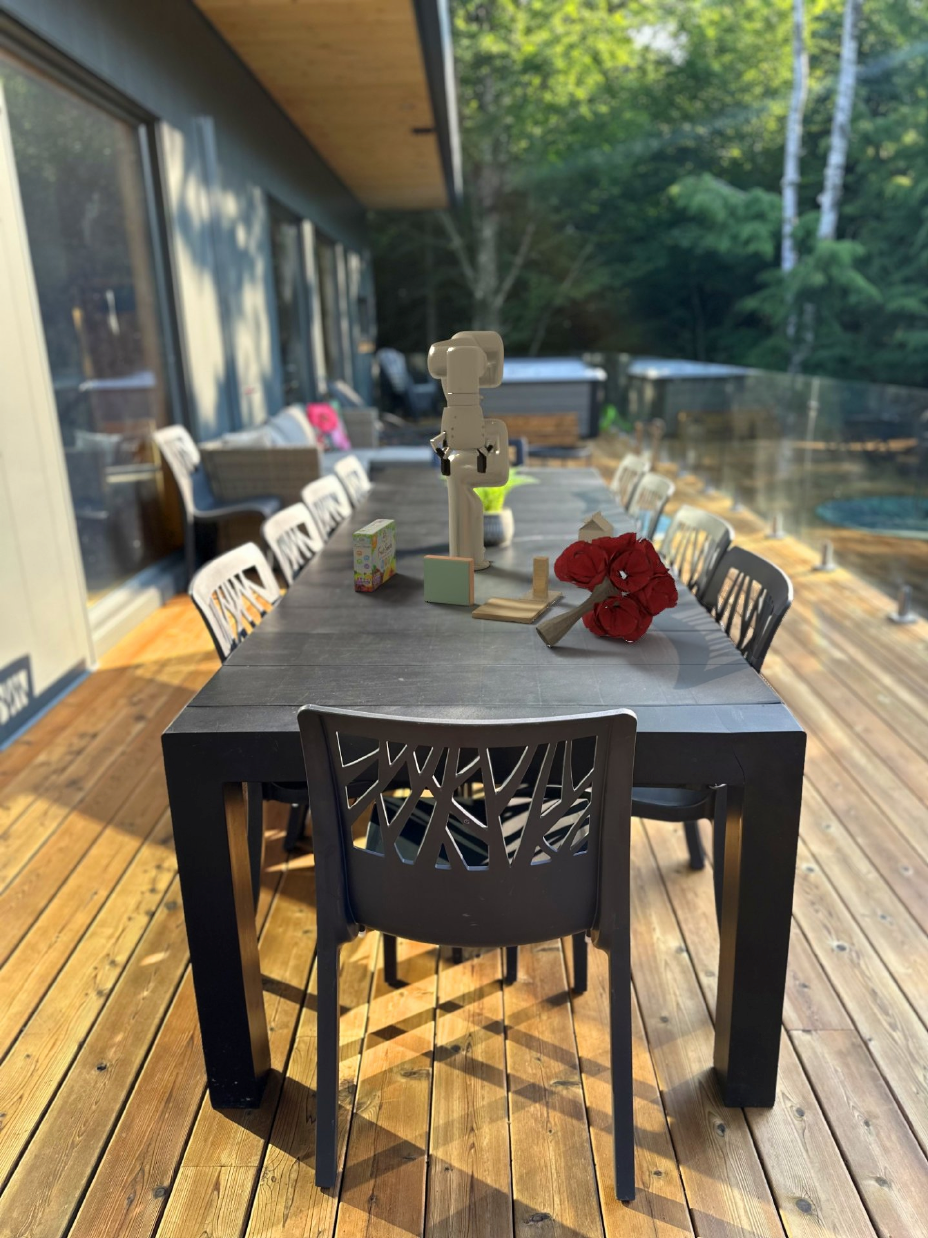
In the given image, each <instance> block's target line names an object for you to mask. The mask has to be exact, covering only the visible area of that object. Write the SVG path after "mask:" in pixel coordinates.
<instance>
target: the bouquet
mask: <svg viewBox="0 0 928 1238" xmlns="http://www.w3.org/2000/svg"><path fill="white" fill-rule="evenodd" d="M637 533H638V532H636V531H635V532H634V531H632V532H630V531H629V532H628V531H627V532H625V533H622V534H620V535H619V536H615V537H614V536H613V538H611V537H610V536H605V537H602V538H601V537H599V538H597V539H592V543H588V541H587V542H585V541H584V540H579V541H578V540H577V541H575V542H572V543H571V544H569V546H568V547H566V548H565V549H564V550H563V551H562V552H561V554H560V555H559V556H558V557H557V558H556V560H555V562H554V564H553V573H554V576H555V577H556V578H557V579H558V580H559V581H560V582H563V583H564V582H565V583H570V584H572V585H574V586H576V587H577V586H578V587H577V588H582V589H585V590H588V591H589V592H590V593H591V594H590V595H589V597H587V598H586V600H585V601H583V602H582V603H581V604H579V605H578V606H576V607H574V608H573V609H571V610H569V611H566V612H564V613H561V614H558V615H556V616H553V617H551V618H549V619H546V620H544V621H542V622H541V623H540V624H538V625H537V626H536V627H535V631H536V632H537V634H538V636H539V638H540V639H541V640H542V642H543V643H544V645H546V646H547V645H550V647H549V648H551V647H554V646H555V645H557V643H559V641H561V640H562V639H563V638H564V637H565V636H566V634H567V633H568V632H569V631H570V630H571V629H572V628H573V626H574V625H576V623H577V622H578V621H579V620H581V619H582V624H583V625H584V627H585V628H586V629H588V630H589V632H590V633H591V634H593V635H595V636H599V637H603V636H602V635H608V636H609V637H610V638H616V639H618V638H622V639H623V641H625V640H627V641H633V642H632V643H635V642H636V641H638V640H639V639H641V638H642V637H643V636H644V635H645V634H647V631H648V630H649V628H650V626H651V624H652V623H653V620H654V619H653V618H654V617H657V616H658V615H660V614H661V613H662V612H663V611H665V610H666V609H671V608H672V609H673V608H675V607H676V606H677V605H678V603H677V601H678V600H679V592H678V590H677V589H678V588H677V587H676V580H675V578H674V577H673V576H672V574H671V573H670V570H671V568H670V567H669V568H668V567H666V565H665V563H664V562H663V561H662V559H661V557H660V554H659V553H658V552H657V550H656V549H655V547H654V544H653V543H652V542H651V541H650V540H649V539H647V538H646V537H643V536H641V537H639V538H637V537H638V535H637ZM642 537H643V538H642ZM621 572H623V573H624V575H625V577H623V576H622V573H621ZM623 593H625V594H623ZM627 641H626V642H627Z"/></svg>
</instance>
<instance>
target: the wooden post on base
mask: <svg viewBox="0 0 928 1238" xmlns="http://www.w3.org/2000/svg"><path fill="white" fill-rule="evenodd" d="M532 561H533V562H532V588H530V589H529V590H528V591H527V592H525V593H524V594H523V595H522V596H520V597H519V598H518V599H520V600H530V601H541V602H549V605H551V604H552V603H553V602H554V601H556V600H557V599H558V598H559V597H560V596H561V597H563V591H558V590H557V591H556V590H549V581H550V580H549V579H550V578H549V577H550V576H549V573H550V572H549V571H550V557H549V556H540V555H537V556H535V557H534V558H533V559H532ZM561 597H560V598H561ZM560 598H559V599H560ZM559 599H558V600H559ZM558 600H557V601H558ZM557 601H556V602H557ZM553 604H554V603H553ZM553 604H552V605H553ZM552 605H551V606H552Z"/></svg>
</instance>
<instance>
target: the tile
mask: <svg viewBox="0 0 928 1238" xmlns="http://www.w3.org/2000/svg"><path fill="white" fill-rule="evenodd" d="M422 563H423V591H424V592H423V596H424V602H427V601H428V603H438V604H448V605H449V604H450V605H458V606H465V607H466V606H469V607H471V606H472V605H473V604H475V570H474V559H472V558H459V557H450V556H446V555H445V556H444V555H432V554H427V555H424V556H423V560H422Z"/></svg>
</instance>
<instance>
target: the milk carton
mask: <svg viewBox="0 0 928 1238" xmlns="http://www.w3.org/2000/svg"><path fill="white" fill-rule="evenodd" d="M582 522H583V523H584V525H582V526H581V527H580V528H579V529H578V530H577V531H578V533H577V534H578V535H577V537H578V538H577V541H579V540H584V541H585V542H587V541H588V543H592V539H597V538H599V537H601V538H602V537H605V536H610V537H611V538H613V537H614V525H612V523H610V522H609V521H608V519H606V518H605V517H604V516H603V515H602V510H601V509H599V510H597V511H596V512H594V513H593V514H591V515H588V516H587V517H586V518H585V519H583V521H582ZM576 587H577V588H579V587H578V586H576Z"/></svg>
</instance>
